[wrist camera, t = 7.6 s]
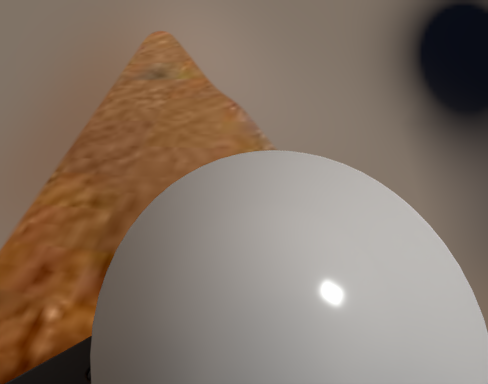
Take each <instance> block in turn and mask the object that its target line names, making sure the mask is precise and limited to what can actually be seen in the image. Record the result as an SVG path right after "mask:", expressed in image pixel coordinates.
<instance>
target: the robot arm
mask: <svg viewBox="0 0 488 384" xmlns="http://www.w3.org/2000/svg"><path fill="white" fill-rule="evenodd" d="M91 340H92V336H90V337H89V338H87V339H85V340H83V341H82V342H80V343H78V344H76V345H75V346H73V347H71V348H69V349H68V350H66V351H64V352H62V353H60V354H58V355H57V356H55V357H53V358H51V359H49V360H47V361H46V362H44V363H42V364H40V365H38V366H36V367H35V368H33V369H31V370H29V371H27V372H25V373H24V374H22V375H20V376H18V377H16V378H14V379H13V380H11V381H9V382H7V383H5V384H91V362H90V352H91Z"/></svg>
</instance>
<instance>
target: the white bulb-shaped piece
mask: <svg viewBox="0 0 488 384" xmlns="http://www.w3.org/2000/svg"><path fill="white" fill-rule="evenodd" d="M90 362H91V384H488V333H487V330H486V326H485V322H484V319H483V316H482V313H481V311H480V308H479V306H478V303H477V301H476V298H475V296H474V294H473V291H472V289H471V287H470V285H469V283H468V281H467V279H466V278H465V276H464V274H463V272H462V270H461V268H460V266H459V265H458V263H457V262H456V260H455V259H454V257H453V256H452V254H451V252H450V251H449V249H448V248H447V246H446V245H445V244H444V242H443V241H442V240H441V239H440V238H439V236H438V235H437V234H436V233H435V231H434V230H433V229H432V227H431V226H430V225H429V224H428V223H427V222H426V221H425V220H424V219H423V218H422V217H421V216H420V215H419V214H418V213H417V212H416V211H415V210H414V209H413V208H412V207H411V206H410V205H409V204H407V203H406V202H405V201H404V200H403V199H402V198H400V197H399V196H398V195H397V194H396V193H394V192H392V191H391V190H390V189H388V188H387V187H385V186H384V185H383V184H381V183H380V182H378V181H376V180H375V179H373V178H371V177H369V176H368V175H366V174H364V173H362V172H360V171H358V170H356V169H354V168H352V167H349V166H347V165H345V164H342V163H340V162H336V161H334V160H331V159H328V158H324V157H320V156H316V155H312V154H307V153H301V152H293V151H276V150H271V151H255V152H249V153H243V154H237V155H233V156H230V157H226V158H222V159H219V160H217V161H214V162H212V163H209V164H207V165H204V166H202V167H200V168H198V169H196V170H194V171H192V172H190V173H189V174H187V175H185V176H184V177H182V178H181V179H179V180H178V181H176V182H175V183H173V184H172V185H171V186H169V187H168V188H167V189H166V190H165V191H163V192H162V193H161V194H160V195H159V196H157V197H156V198H155V199H154V200H153V201H152V203H151V204H150V205H149V206H148V207H147V208H146V209H145V210H144V211H143V212H142V213H141V214H140V216H139V217H138V218H137V220H136V221H135V222H134V224H133V225H132V226H131V227H130V229H129V230H128V232H127V234H126V235H125V237H124V239H123V240H122V242H121V244H120V245H119V247H118V249H117V250H116V253H115V255H114V257H113V259H112V261H111V264H110V266H109V268H108V270H107V272H106V275H105V279H104V282H103V285H102V288H101V291H100V294H99V297H98V302H97V307H96V312H95V317H94V321H93V328H92V340H91V352H90Z"/></svg>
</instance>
